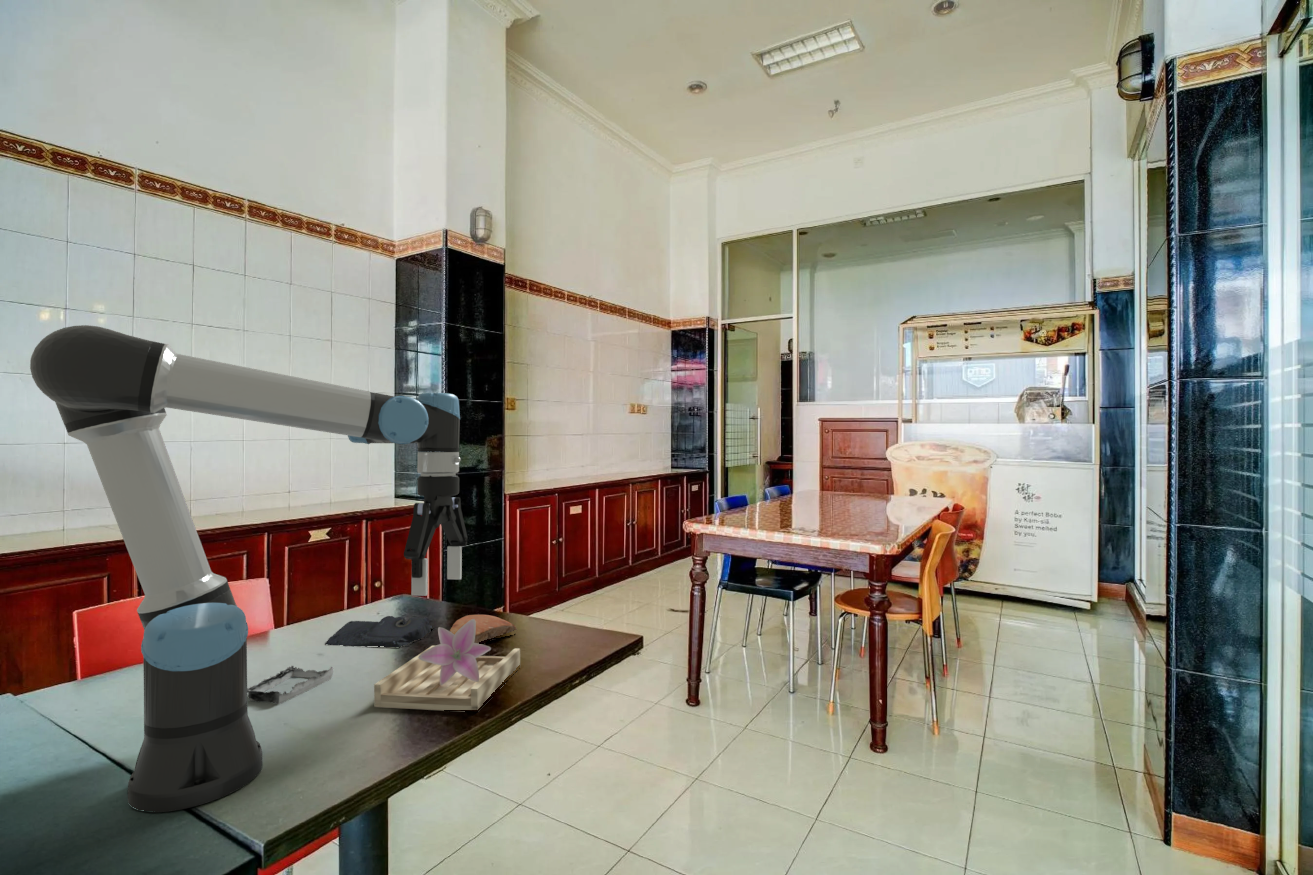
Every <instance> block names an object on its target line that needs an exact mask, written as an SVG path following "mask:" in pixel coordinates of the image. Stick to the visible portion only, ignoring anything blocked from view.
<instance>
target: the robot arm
mask: <svg viewBox="0 0 1313 875" xmlns="http://www.w3.org/2000/svg"><path fill="white" fill-rule="evenodd" d="M29 367H30V368H29V369H30V373H31V377H32V379H33V381H34V383H35V385H36V386H37V388H38V389H39V390H40V391H41V393H43V395H45V396H46V397H48V398H49V399H50V400H51V401H53V402H54V403H55V405H56V408H57V410H58V412H59V414H60V418H61V421H62V424H63V425H64V427H65V430H66V432H67V435H68V436H69V437H71V438H74V439H75V440H78V441H81V442H82V443H84V444H85V445H86V446H87V448H88V451H89V454H90V457H91V459H92V461H93V464H94V466H95V470H96V472H97V473H98V477H99V480H100V482H101V486H102V487H103V489H104V493H105V495H106V499H107V500H108V503H109V505H110V508H111V510H112V513H113V515H114V518H115V521H116V524H117V526H118V529H119V531H120V533H121V536H122V540H123V542H124V544H125V547H126V550H127V552H128V555H129V557H130V559H131V563H132V565H133V567H134V570H135V572H136V576H137V578H138V581H139V583H140V585H141V588H142V590H143V593H144V598H143V599H142V601H141V602H140V604H139V606H138V607H137V609H136V612H137V614H138V617H139V620H140V623H141V625H142V627H143V638H142V640H141V645H140V650H141V651H140V652H141V654H142V657H143V660H142V661H143V662H142V663H143V731H144V732H143V740H142V744H141V745H140V746H141V747H140V749H139V751H138V754H137V759H136V761H135V765H134V771H133V772H132V774H131V775H130V776H129V780H128V782H127V804H128V803H129V804H130V805H131V806H132V807H134V808H136V809H138V810H144V811H153V812H152V813H167V812H175V811H181V810H186V809H190V808H194V807H199V806H200V805H204V804H207V803H211V802H213V801H216V800H218V799H221V798H224V797H225V796H227V795H228V796H229V795H231V794H232V793H234V792H236V791H238V790H239V789H241V788H243V787H245V786H247V785H248V784H249V783H250V782H251V781H253V780H254V779H255V778H256V777H257V776H258V775H259V774H260V772H261V770H262V769H263V761H264V760H263V748H262V745H261V743H260V742H259V741H257V738H256V735H255V731H254V728H253V725H252V722H251V720H250V717H249V712H248V693H247V688H248V651H247V650H248V647H247V646H248V644H247V642H248V640H247V638H248V636H249V626H248V622H247V618H246V613H245V612H244V611H243V609H242V608H240V607H239V606H238V605H237V604H236V601H235V598H234V595H233V592H232V590H231V588H230V584H229V582H228V579H227V577H226V576H223V575H220V574H216V573H214V572H213V571H212V569H211V567H210V563H209V561H208V558H207V556H206V553H205V550H204V547H203V545H202V541H201V539H200V536H199V534H198V532H197V529H196V526H195V523H194V519H193V518H192V515H191V512H190V510H189V506H188V503H187V501H186V499H185V496H184V492H183V490H182V488H181V484H180V482H179V479H178V477H177V475H176V471H175V468H174V465H173V463H172V461H171V460H172V459H171V457H170V455H169V453H168V450H167V446H166V444H165V442H164V438H163V436H162V433H161V430H160V426H161V425H162V423H163V421H164V420H165V419H166V417H167V416H168V415H167V411H166V408H168V409H173V410H179V411H180V410H181V411H185V412H186V411H187V412H192V413H201V414H206V415H212V416H213V415H214V416H220V417H225V418H232V419H239V420H245V421H252V422H259V423H264V424H265V423H266V424H271V425H277V426H283V427H284V426H285V427H292V428H297V429H298V428H299V429H305V430H309V431H318V432H323V433H330V434H331V433H332V434H336V435H343V436H347V439H348V440H349V441H350V442H351V443H354V444H366V445H371V444H398V445H408V444H417V469H416V471H417V473H418V474H420V475H418V477H417V478H416V479H417V483H416V484H417V485H416V486H417V492H416V493H417V495H418V496H420V497H423V498H424V499H423V502H414V504H413V512H412V514H413V516H412V519H411V524H410V526H409V532H408V535H407V539H406V544H405V548H404V552H403V557H404V558H405V559H406V560H410V561H411V596H417V597H418V596H420V597H421V596H422V597H424V596H425V597H426V596H428V595H429V592H428V591H429V583H428V581H429V576H428V573H429V558H426V555H427V552H428V550H429V548H430V545H431V542H432V540H433V536H434V535H435V532H436V529H438V528H439V527H440V525H441V528H442V530H443V532H444V534H445V536H446V539H447V541H448V543H449V545H448V546H447V547H446V548H447V549H446V550H447V556H446V557H447V558H446V560H447V562H446V563H447V564H446V566H447V569H446V579H447V580H460V581H461V580H462V577H463V576H462V575H463V574H462V573H463V571H462V569H463V568H462V566H463V562H462V561H463V559H462V558H463V556H462V555H463V553H462V550H463V547H464V546H465V547H466V546H467V545H468V538H469V537H468V534H467V529H466V525H465V520H464V515H463V511H462V505H461V504H462V503H461V502H462V500H461V497H459V496H457V495H458V494H459V493H460V477H459V475H456V474H457V473H459V472H460V462H461V461H462V458H461V457H460V424H461V423H460V420H461V415H460V414H461V413H460V412H461V411H460V400H459V398H458V396H457V395H455V394H453V393H449V392H447V393H446V392H423V393H419V394H418V396H417V399H415V398H414V397H411V396H407V395H406V396H405V395H398V396H397V395H395V396H394V395H389V394H383V393H379V392H378V393H377V392H371V391H369V390H364V389H359V388H354V387H349V386H343V385H340V384H339V385H337V384H335V383H334V384H333V383H327V382H322V381H316V380H313V379H308V378H303V377H298V376H292V375H288V374H282V373H276V372H272V371H267V370H266V371H265V370H262V369H261V370H260V369H256V368H251V367H246V366H241V365H237V364H230V363H226V362H221V361H216V360H211V359H205V358H201V357H196V356H190V355H186V354H181V353H177V352H176V351H175V350H174V349H173V348H172V346H171V345H169V344H168V343H162V342H156V341H154V340H148V339H145V338H141V337H140V338H139V337H136V336H133V335H129V334H125V333H123V332H119V331H115V330H114V329H113V330H112V329H109V328H106V327H102V326H97V325H96V326H95V325H89V324H88V325H86V324H85V325H84V324H83V325H71V326H67V327H63V328H59V329H57V330H54V331H52V332H50V333H49V334H48V335H46V336H44V338H42V339H41V340H40V341H39V343H38V344H36V346H35V347H34V349H33V352H32V355H31V357H30V364H29ZM454 496H455V497H454ZM129 804H128V805H129ZM132 807H131V808H132ZM138 810H137V811H138ZM154 811H155V812H154Z"/></svg>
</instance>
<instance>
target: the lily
mask: <svg viewBox="0 0 1313 875" xmlns="http://www.w3.org/2000/svg"><path fill="white" fill-rule="evenodd" d="M437 632H438V638H439V640H438V641H439V644H437V645H433V646H434V647H432V648H430V649H428V648H427V649H428V650H427V651H425V650H424V651H425V652H423V651H422V652H423V653H422V652H421V653H422V654H421V655H419V654H418V655H419V657H418V658H419V659H420V660H422V661H425V662H429V663H433V664H437V665H442V666H441V671H440V685H443V684H444V683H446V682H447V681H448V680H449V679H450V678H451V677H452V676H453V675H454V674H455V673H456V672H458V673H459V674H461V675H463V676H465V677H466V678H468V679H470V680H472V681H475V682H478V681H479V671H478V665H477V661H476V659H475V658H477V657H479V656H484V655H485V654H486V653H488V652H490V651H491V650H492V647H491V646H489V645H486V644H479V643H474V641H475V633H476V621H475V619H472V620H470V621H468V622H467V623H466V624H465V625H463V626H462V627H461V628H460V629H459V630H458V631H457V632H456V633H455V635H454V634H453V633H452V632H450V630H448V629H446V628H444V627H442V626H439V627H438V628H437Z"/></svg>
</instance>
